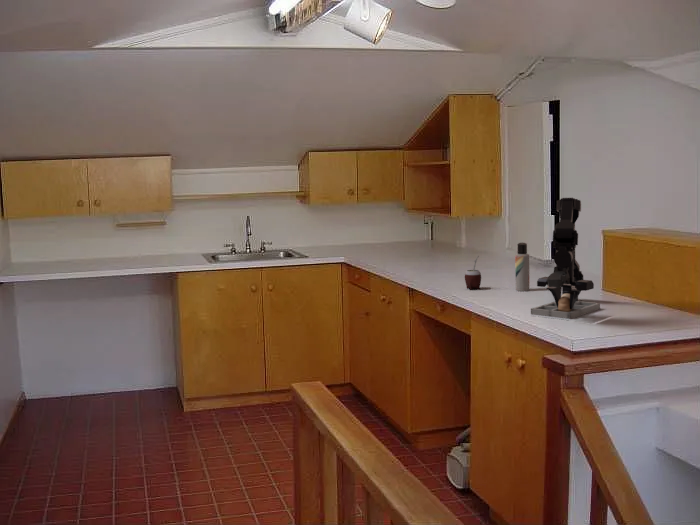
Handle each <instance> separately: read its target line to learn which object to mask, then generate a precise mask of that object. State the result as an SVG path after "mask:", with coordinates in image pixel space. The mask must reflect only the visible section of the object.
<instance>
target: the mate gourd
mask: <svg viewBox="0 0 700 525" xmlns="http://www.w3.org/2000/svg"><path fill="white" fill-rule="evenodd" d="M479 257H480V255H477V257H475V259H474V261H473V262H474V264H473V268H472V269H469V270H465V274H464V282H465V285H466V288H470V289H469V291H473V290H477V289H480V290H481V282H482V274H481V272H480V270H478V269H476V263H477V260H478V258H479ZM472 289H473V290H472Z"/></svg>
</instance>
